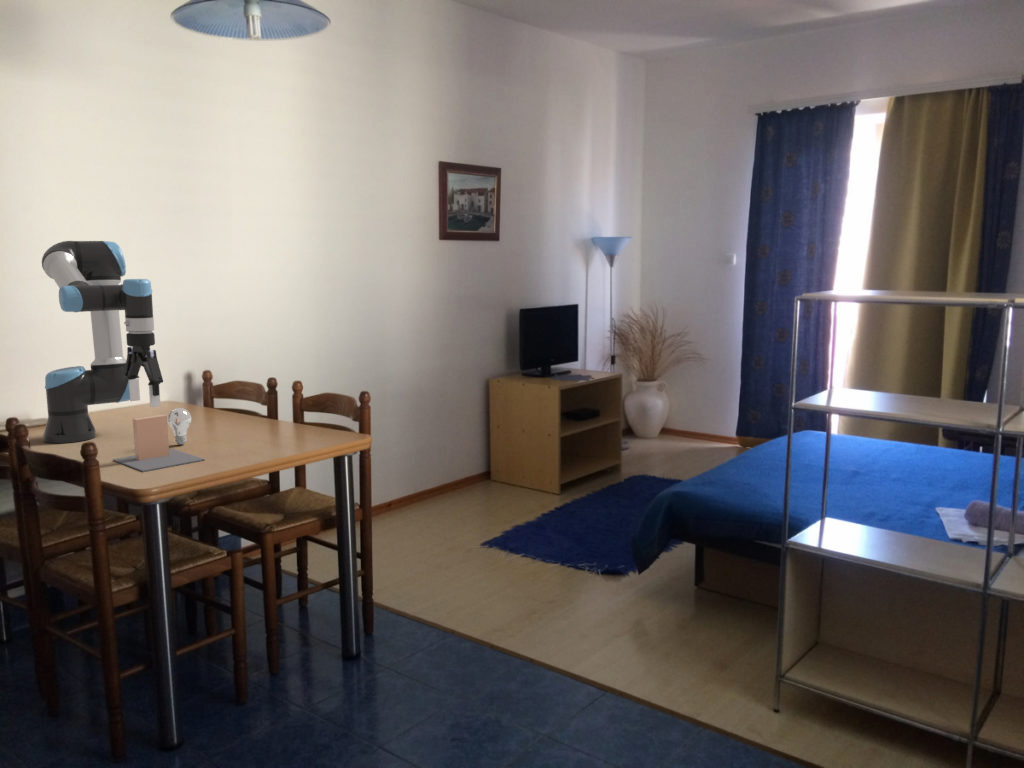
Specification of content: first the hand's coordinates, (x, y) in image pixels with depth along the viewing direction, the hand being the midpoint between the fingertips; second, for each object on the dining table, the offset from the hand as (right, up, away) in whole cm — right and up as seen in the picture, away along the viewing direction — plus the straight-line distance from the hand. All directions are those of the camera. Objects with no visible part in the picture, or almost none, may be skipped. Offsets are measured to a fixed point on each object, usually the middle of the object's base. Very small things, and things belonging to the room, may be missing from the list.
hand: (145, 403), depth 243 cm
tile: (+2, -16, 0) cm, 16 cm away
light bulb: (+4, -14, +18) cm, 23 cm away
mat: (+5, -17, -2) cm, 18 cm away
